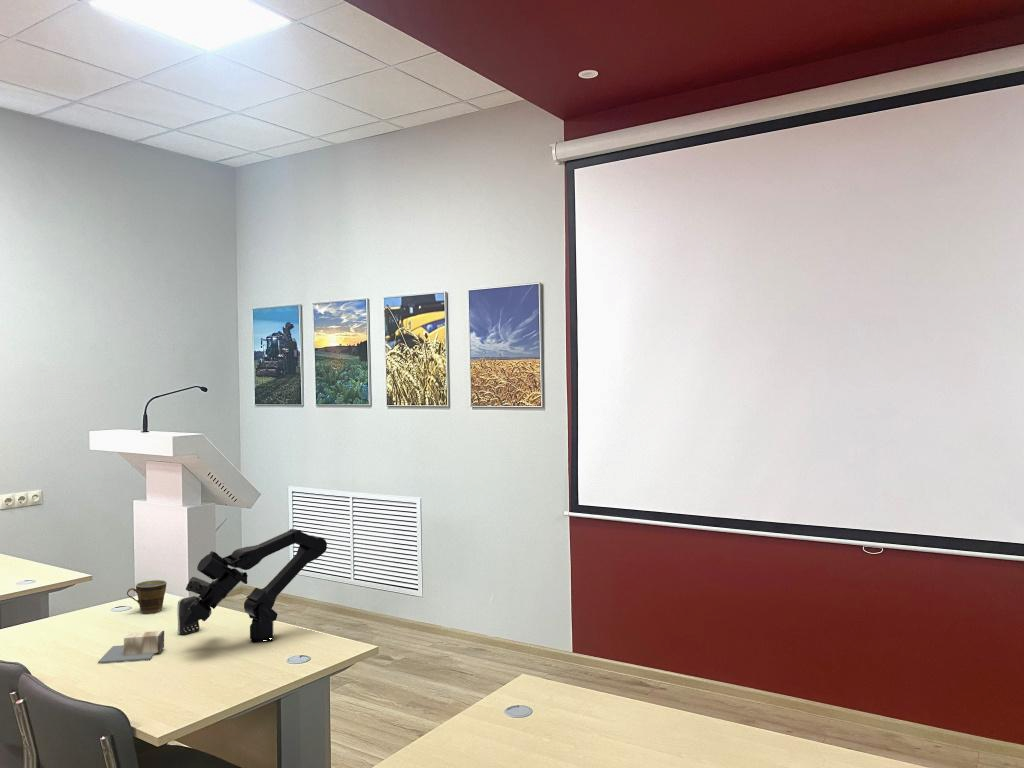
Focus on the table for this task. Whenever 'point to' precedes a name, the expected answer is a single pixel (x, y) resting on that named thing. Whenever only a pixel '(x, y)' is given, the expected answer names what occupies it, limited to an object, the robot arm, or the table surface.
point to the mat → (122, 655)
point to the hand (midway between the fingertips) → (185, 624)
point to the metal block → (143, 642)
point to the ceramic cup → (150, 596)
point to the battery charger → (186, 616)
